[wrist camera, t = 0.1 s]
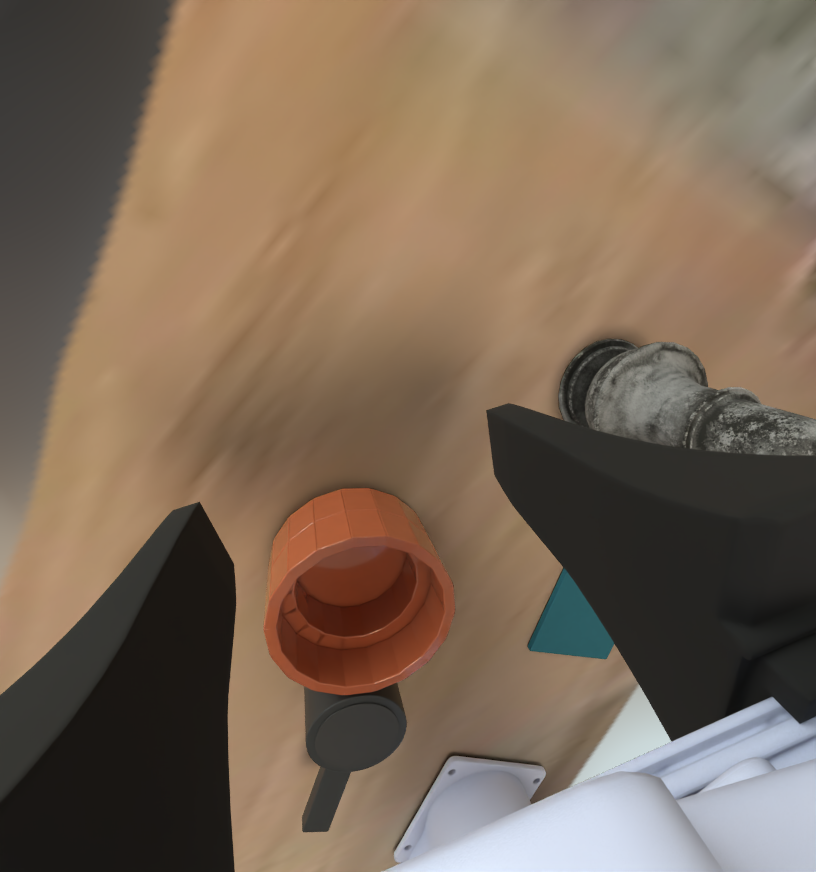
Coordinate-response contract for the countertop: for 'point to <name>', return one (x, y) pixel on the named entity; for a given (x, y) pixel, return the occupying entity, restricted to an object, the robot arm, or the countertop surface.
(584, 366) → the grey tall lumpy piece
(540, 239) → the countertop surface
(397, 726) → the scoop
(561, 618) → the cloth
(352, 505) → the bowl
